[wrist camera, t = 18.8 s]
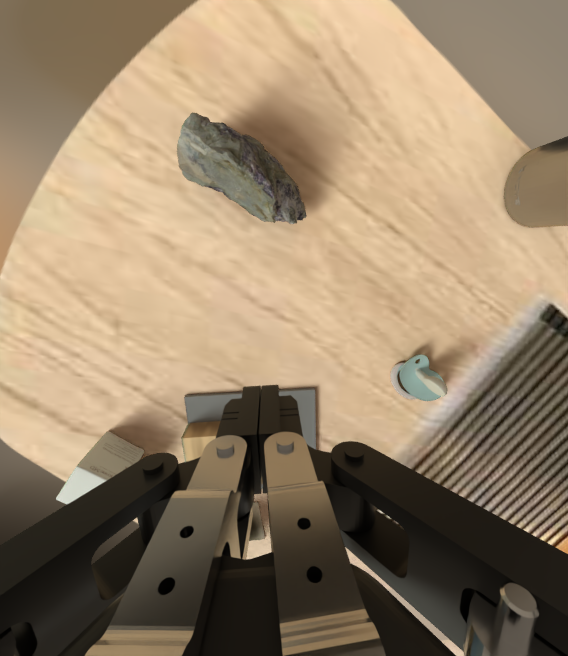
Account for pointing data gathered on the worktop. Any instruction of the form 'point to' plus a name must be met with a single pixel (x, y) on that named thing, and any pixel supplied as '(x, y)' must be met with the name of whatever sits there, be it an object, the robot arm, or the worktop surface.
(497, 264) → the worktop surface
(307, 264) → the worktop surface
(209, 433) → the block
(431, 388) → the pacifier
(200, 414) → the mat
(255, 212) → the mineral rock
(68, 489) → the product box
